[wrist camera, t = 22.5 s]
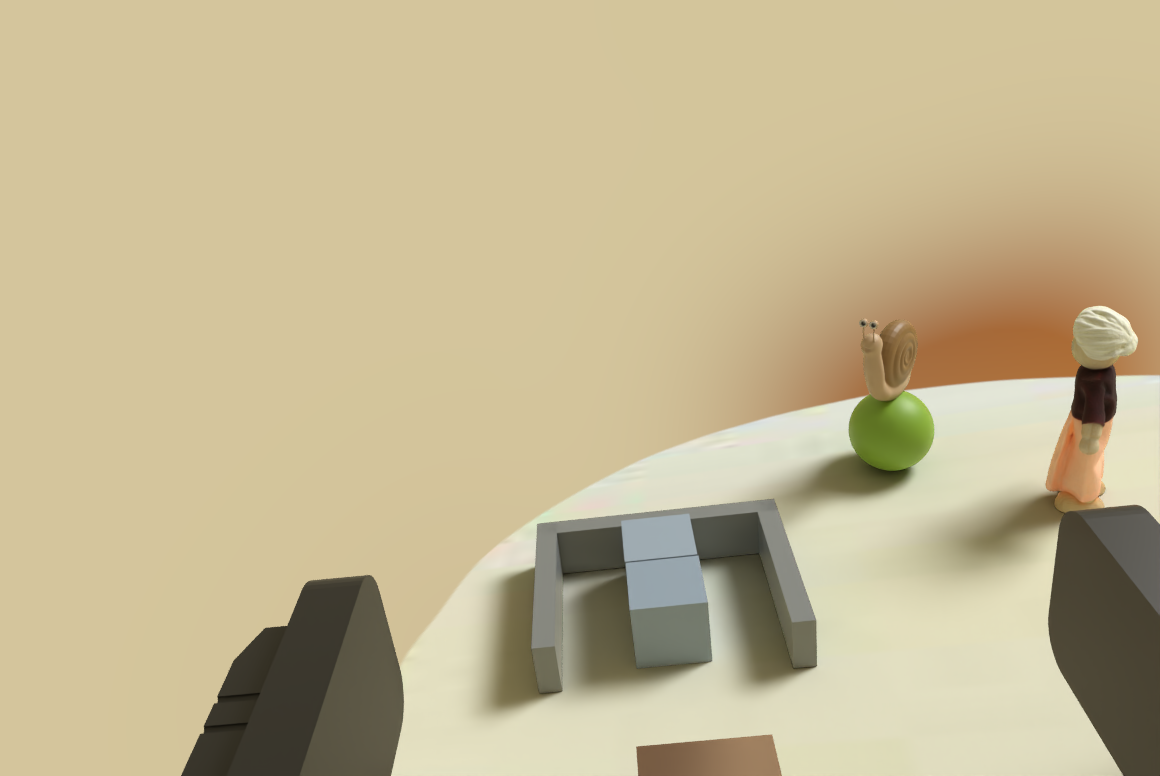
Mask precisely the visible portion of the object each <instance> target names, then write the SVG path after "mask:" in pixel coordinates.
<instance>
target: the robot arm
mask: <svg viewBox="0 0 1160 776" xmlns="http://www.w3.org/2000/svg"><path fill="white" fill-rule="evenodd" d="M1048 626H1049V636H1050V641H1051V646H1052V650H1053V653H1054V657H1055V659H1056V662H1057V665H1058V667H1059V669H1060V671H1061V673H1062V675H1063V676H1064V678H1065V680H1066V681H1067V683H1068V685H1069V686H1070V688H1071V690H1072V691H1073V693H1074V694H1075V696H1076V698H1077V699H1078V701H1079V703H1080V704H1081V706H1082V708H1083V709H1084V711H1085V713H1086V714H1087V716H1088V718H1089V719H1090V721H1091V723H1092V724H1093V726H1094V728H1095V729H1096V731H1097V733H1098V734H1099V736H1100V737H1101V739H1102V741H1103V742H1104V744H1105V746H1106V747H1107V749H1108V751H1109V752H1110V754H1111V756H1112V757H1113V759H1114V761H1115V762H1116V764H1117V766H1118V767H1119V769H1120V771H1121V772H1122V774H1123V776H1160V524H1159V523H1158V522H1157V521H1156V520H1155V519H1154V517H1153V516H1152V515H1151V514H1150V513H1149V512H1148V511H1147V510H1146V509H1145V508H1143V507H1141V506H1139V505H1129V506H1118V507H1107V508H1097V509H1086V510H1076V511H1068V512H1066V513H1065V514H1064V516H1063V518H1062V519H1061V523H1060V527H1059V533H1058V541H1057V550H1056V558H1055V566H1054V574H1053V582H1052V591H1051V599H1050V607H1049V617H1048ZM403 710H404V694H403V683H402V676H401V671H400V667H399V663H398V659H397V656H396V652H395V648H394V645H393V641H392V637H391V633H390V630H389V626H388V622H387V618H386V615H385V611H384V607H383V603H382V600H381V596H380V592H379V589H378V586H377V583H376V581H375V580H374V578H373V577H372V576H370V575H367V576H366V575H365V576H355V577H344V578H333V579H323V580H313V581H308V582H307V583H306V584H305V585H304V587H303V589H302V591H301V594H300V596H299V599H298V601H297V604H296V606H295V608H294V611H293V614H292V616H291V618H290V621H289V623H288V626H281V627H271V628H265V629H264V630H263V631H262V632H261V633H260V634H259V635H258V636H257V637H256V638H255V639H254V640H253V641H252V642H251V643H250V644H249V645H248V646H247V647H246V648H245V650H244V651H243V652H242V653H241V654H240V655H239V656H238V657H237V658H236V659H235V660H234V661H233V663H232V666H231V668H230V670H229V672H228V675H227V677H226V679H225V681H224V683H223V685H222V688H221V690H220V692H219V694H218V703H216V704H214V705H213V707H212V710H211V712H210V714H209V716H208V718H207V720H206V723H205V725H204V734H200V736H199V738H198V740H197V742H196V745H195V747H194V749H193V751H192V753H191V755H190V758H189V760H188V762H187V764H186V766H185V769H184V771H183V773H182V775H181V776H391V773H392V768H393V764H394V759H395V754H396V750H397V745H398V741H399V736H400V732H401V727H402V721H403Z"/></svg>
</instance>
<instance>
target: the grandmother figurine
mask: <svg viewBox="0 0 1160 776" xmlns="http://www.w3.org/2000/svg"><path fill="white" fill-rule="evenodd" d="M1073 328H1074V329H1073V334H1074V339H1073V341H1072V354H1073V356H1074V358H1075V359H1076V361H1077V362H1078V363H1079V364H1081V366H1080V367H1079V369H1078V371H1077V375H1076V379H1075V392H1074V399H1073V403H1072V406H1071V411H1070V413H1069V416H1068V418H1067V421H1066V423H1065V425H1064V427H1063V429H1062V432H1061V434H1060V437H1059V440H1058V443H1057V445H1056V448H1055V451H1054V454H1053V457H1052V460H1051V464H1050V467H1049V471H1048V476H1047V480H1046V488H1047V489H1048V490H1049V491H1061V492H1059V493H1058V495H1057V497H1056V498H1055V501H1054V505H1055V507H1056V508H1057V509H1058V510H1059V511H1061V512H1064V513H1066V512H1068V511H1076V510H1086V509H1097V508H1104V504H1103V502H1102V500H1101V499H1099V498H1098V496H1099V495H1102V494H1103V493H1104V492H1105V489H1106V488H1105V485H1104V483H1103V482H1102V481H1101V479H1102V477H1103V469H1104V449H1105V447H1106V445H1107V443H1108V440H1109V436H1110V432H1111V427H1112V420H1113V417H1114V415H1115V413H1116V405H1117V394H1116V373H1115V369H1114V366H1113V364H1114V363H1115V362H1116V361H1117V360H1118V358H1119V357H1120V356H1128V355H1130V354H1132V353H1133V352H1134V351H1135V350H1136V346H1137V343H1138V339H1137V336H1136V335H1135V333H1134V332H1133V331H1132V328H1131V326H1130V323H1129V321H1128V320H1127V319H1126V318H1125V317H1123V316H1121V315H1120V314H1118V313H1117V312H1115V311H1113V310H1112V309H1110V308H1107V307H1104V306H1095V307H1090V308H1086V309H1084V310H1083V311H1082V312H1081V313H1080V314H1079V316H1078V317H1077V319H1076V320H1075V324H1074V327H1073Z"/></svg>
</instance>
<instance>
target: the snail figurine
mask: <svg viewBox="0 0 1160 776" xmlns="http://www.w3.org/2000/svg"><path fill="white" fill-rule="evenodd" d="M859 324H860V326H861V327H863V339H862V342H861V349H862V352H863V355H864V358H863V366H864V375H865V380H866V384H867V387H868V390H869V393H870V395H868V396H867V397H865V398H864V399H863V400H861V401H860V402H859V404H858V405H857V406H856V407H855V409H854V411H853V413H852V415H851V418H850V422H849V437H850V441H851V444H852V446H853V448H854V450H855V451H856V453H857V454H858V455H859V457H860V458H861V459H862V460H864V461H865V462H866V463H868V464H869V465H871V466H873V467H875V468H878V469H882V470H888V471H896V470H902V469H906V468H909V467H911V466H913V465H915V464H916V463H918V462H919V461H920V460H921V459H922V458H923V457H924V456H925V455H926V454H927V452H928V451H929V449H930V447H931V445H932V442H933V438H934V423H933V419H932V416H931V414H930V412H929V410H928V408H927V407H926V406H925V404H924V403H923V402H922V401H921V400H920V399H918V398H917V397H916V396H914V395H912V394H910V393H908V392H905V391H904V389H905V387H906V386H907V384H908V382H909V379H910V375H911V370H912V368H913V366H914V363H915V359H916V354H917V346H918V343H917V334H916V331H915V329H914V327H913V326H912V325H911V323H909V322H907V321H905V320H895V321H893V322H891V323H890V324H888V325H887V326H886V327H885V328H884V330H883V331H882V332H881V334H880V336H879V335H877V334H875V333H874V332H875V329H877V328H878V326H879V324H878V322H877V321H875V320H874V321H871V322H870V328H871V329H873V333H870V334H868V335H866V336H864V328H865V327H867V326H868V320H867V319H861V320H860V322H859Z"/></svg>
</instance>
